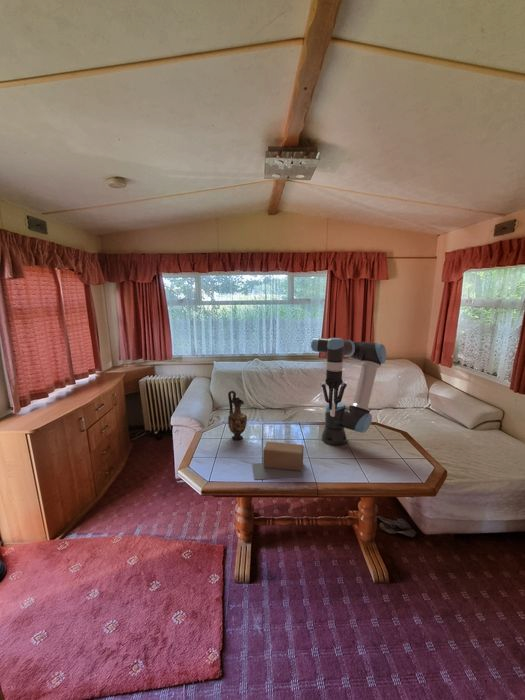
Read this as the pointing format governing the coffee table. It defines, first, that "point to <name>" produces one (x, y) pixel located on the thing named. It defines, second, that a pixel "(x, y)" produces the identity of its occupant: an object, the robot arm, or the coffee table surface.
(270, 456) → the block
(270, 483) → the coffee table surface
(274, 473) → the mat
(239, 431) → the vase
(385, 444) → the coffee table surface
